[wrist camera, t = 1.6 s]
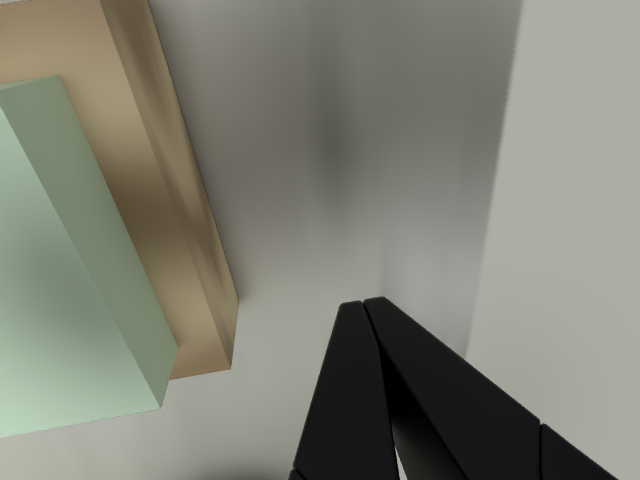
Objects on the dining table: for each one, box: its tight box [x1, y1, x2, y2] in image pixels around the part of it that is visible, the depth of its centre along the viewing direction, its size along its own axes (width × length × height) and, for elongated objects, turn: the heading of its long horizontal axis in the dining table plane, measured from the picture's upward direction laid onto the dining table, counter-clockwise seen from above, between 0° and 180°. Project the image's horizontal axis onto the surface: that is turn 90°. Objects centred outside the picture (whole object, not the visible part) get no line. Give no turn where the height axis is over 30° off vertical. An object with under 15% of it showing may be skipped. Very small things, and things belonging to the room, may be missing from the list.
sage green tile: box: [0, 75, 178, 437], centre depth 10 cm, size 9×6×2 cm, turn 7°
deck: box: [0, 0, 239, 380], centre depth 13 cm, size 12×13×4 cm
